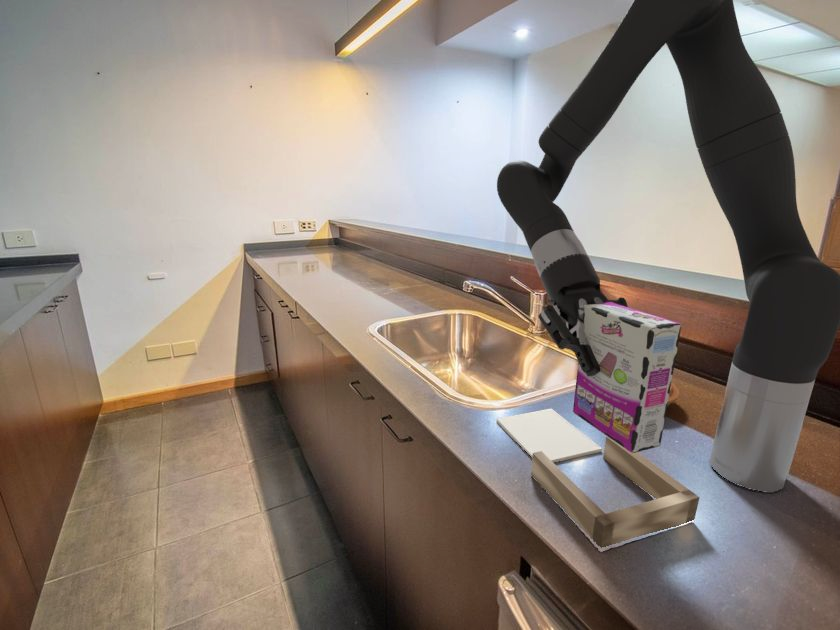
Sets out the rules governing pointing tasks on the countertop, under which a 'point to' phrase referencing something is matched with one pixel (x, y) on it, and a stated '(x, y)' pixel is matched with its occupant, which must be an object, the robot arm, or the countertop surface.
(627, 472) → the frame
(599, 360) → the candy bar box
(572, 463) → the countertop surface
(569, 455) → the mat
